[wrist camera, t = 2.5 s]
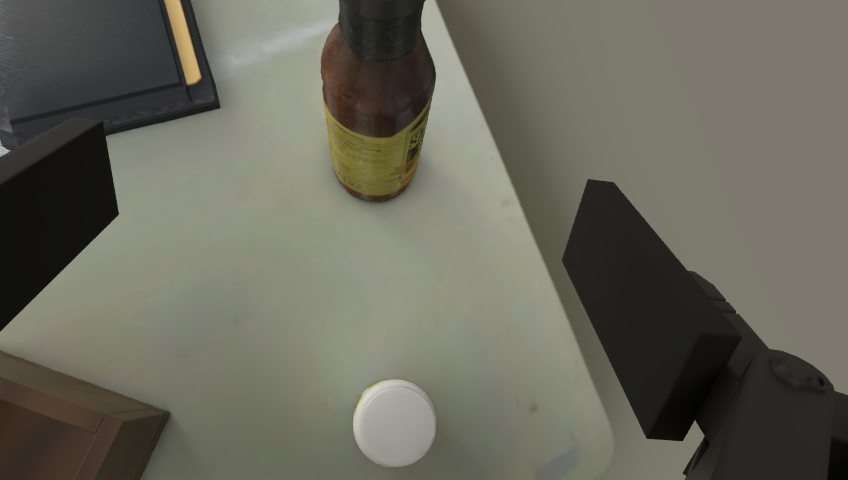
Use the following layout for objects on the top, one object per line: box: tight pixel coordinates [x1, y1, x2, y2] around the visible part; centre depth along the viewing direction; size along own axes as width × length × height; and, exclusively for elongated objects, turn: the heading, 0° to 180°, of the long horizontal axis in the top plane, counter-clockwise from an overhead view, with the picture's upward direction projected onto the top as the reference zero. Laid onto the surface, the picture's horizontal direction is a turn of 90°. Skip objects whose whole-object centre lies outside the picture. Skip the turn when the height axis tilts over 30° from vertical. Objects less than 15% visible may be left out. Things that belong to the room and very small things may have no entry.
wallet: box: [0, 0, 220, 150], centre depth 39 cm, size 20×2×15 cm
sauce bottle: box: [321, 0, 436, 201], centre depth 30 cm, size 6×6×20 cm
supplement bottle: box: [353, 379, 436, 468], centre depth 31 cm, size 5×5×8 cm
